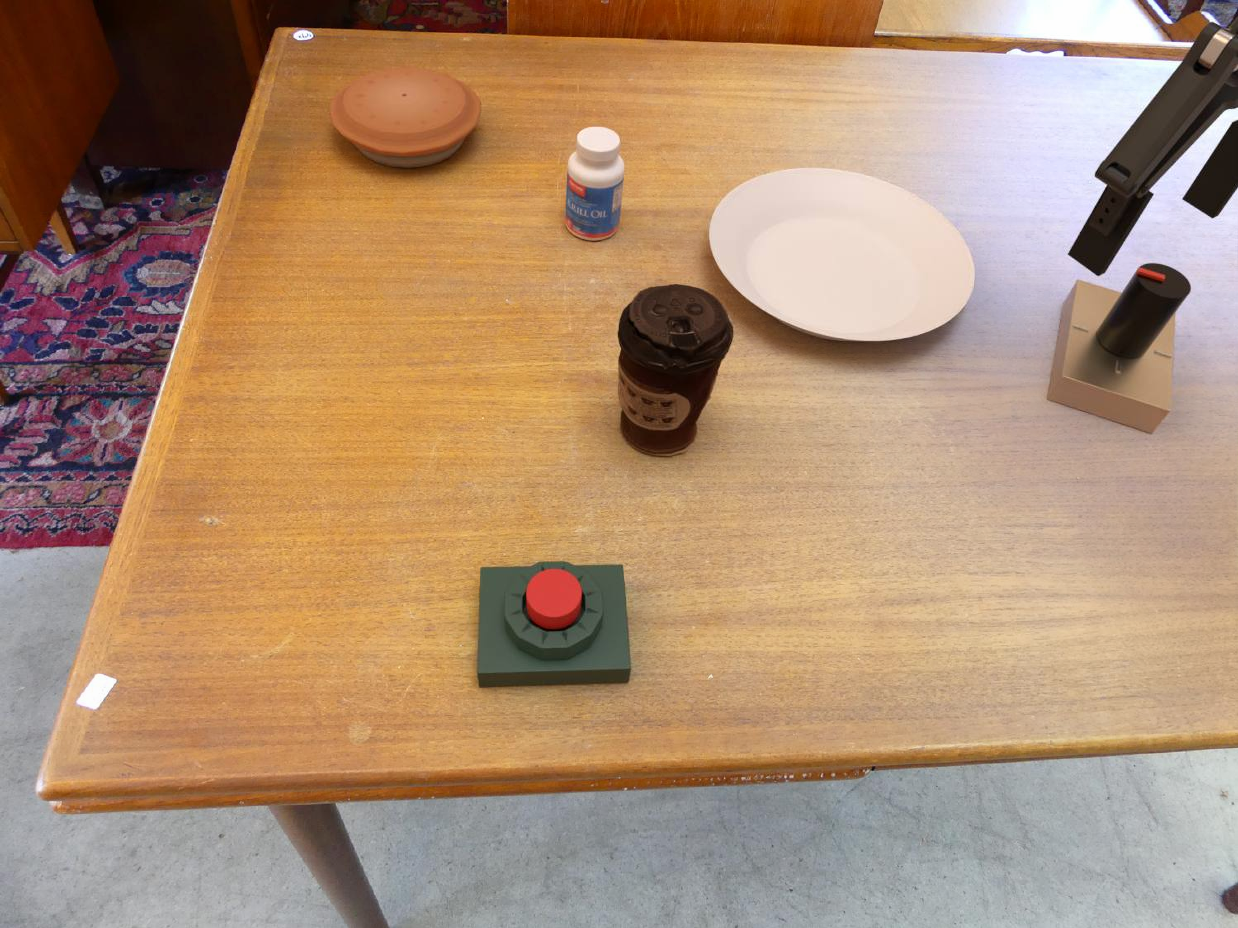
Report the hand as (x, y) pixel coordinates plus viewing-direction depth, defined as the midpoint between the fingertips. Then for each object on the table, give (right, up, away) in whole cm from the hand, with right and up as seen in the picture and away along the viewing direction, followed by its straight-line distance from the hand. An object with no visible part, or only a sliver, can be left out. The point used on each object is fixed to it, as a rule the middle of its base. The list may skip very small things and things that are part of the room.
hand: (1144, 235), depth 67 cm
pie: (-61, +18, +31) cm, 71 cm away
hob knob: (+6, -6, +15) cm, 17 cm away
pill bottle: (-41, +7, +25) cm, 48 cm away
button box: (-43, -28, -3) cm, 52 cm away
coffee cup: (-35, -14, +9) cm, 39 cm away
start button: (-43, -26, -6) cm, 50 cm away
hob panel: (+6, -8, +17) cm, 20 cm away
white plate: (-18, +1, +22) cm, 28 cm away
